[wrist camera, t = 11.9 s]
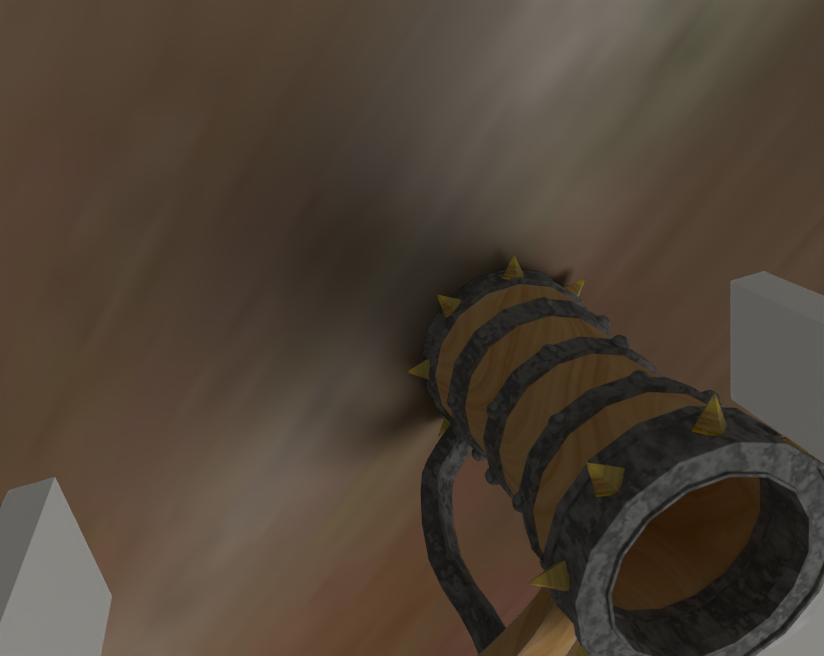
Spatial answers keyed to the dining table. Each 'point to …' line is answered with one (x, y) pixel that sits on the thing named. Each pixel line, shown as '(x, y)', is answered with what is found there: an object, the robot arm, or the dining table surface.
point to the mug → (612, 485)
